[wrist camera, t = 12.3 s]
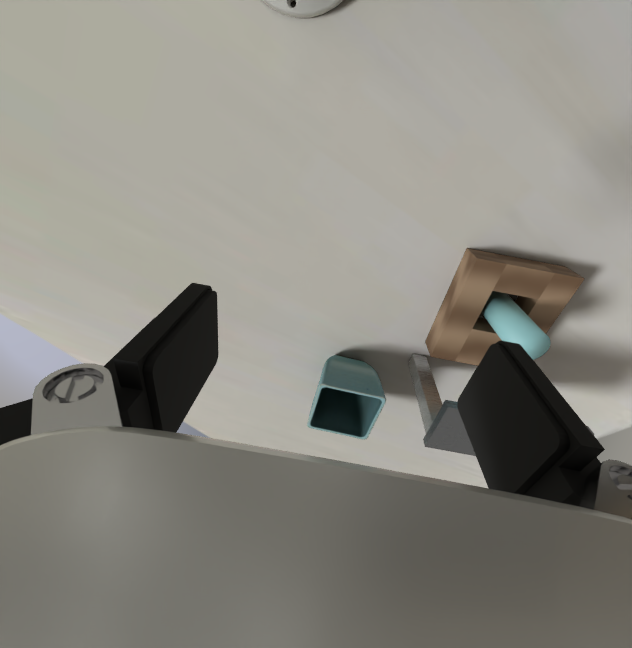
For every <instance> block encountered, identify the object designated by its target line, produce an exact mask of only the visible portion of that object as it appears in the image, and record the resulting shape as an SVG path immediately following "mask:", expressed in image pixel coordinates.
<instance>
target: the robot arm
mask: <svg viewBox="0 0 632 648" xmlns="http://www.w3.org/2000/svg"><path fill="white" fill-rule="evenodd" d="M262 1H263V2H264V3H265V4H267V5H268V6H269V7H270V8H272V9H274V10H276V11H277V12H279V13H281V14H283V15H287V16H291V17H295V18H311V17H314V16H318V15H321V14H324V13H326V12H328V11H329V10H331V9H333V8H335V7H336V6H338V5H339V4H340V3H341V2H342V1H343V0H262ZM292 1H296V6H295V7H293V8H292V7H291V2H292ZM217 359H218V318H217V293H216V291H212V288H211V287H210V286H207V285H202V284H197V283H192V284H190V285H189V286H188V287H187V288H186V289H185V290H184V291H183V292H182V293H181V294H180V295H179V296H178V297H177V298H176V299H175V300H174V301H172V302H171V303H170V304H169V305H168V306H167V307H166V308H165V309H164V310H163V311H162V312H161V313H160V314H159V315H158V316H157V317H156V318H154V319H153V320H152V321H151V322H150V323H149V324H148V325H147V326H146V327H145V328H143V329H142V330H141V331H140V332H139V333H138V334H137V335H136V336H135V337H134V338H133V339H132V340H131V341H130V342H129V343H128V344H127V345H126V346H125V347H124V348H122V349H121V350H120V351H119V352H118V353H117V354H116V355H115V356H114V357H113V358H112V359H111V360H110V361H109V362H108V363H107V364H106V365H105V366H104V367H103V366H101V365H97V364H77V365H72V366H69V367H65V368H62V369H60V370H58V371H55V372H53V373H51V374H50V375H48V376H47V377H45V378H44V379H43V380H41V381H40V383H39V384H38V385H37V386H36V388H35V390H34V393H33V399H29V400H26V401H23V402H19V403H16V404H13V405H9V406H6V407H3V408H0V648H632V466H631V465H629V464H626V463H623V462H621V461H617V460H606V461H604V462H602V463H600V461H599V460H598V459H597V456H598V455H599V454H600V453H601V452H602V451H604V450H605V449H604V448H603V447H602V445H601V444H600V443H599V442H598V440H597V439H596V438H595V437H594V435H593V434H592V433H591V432H590V430H589V429H588V428H587V427H586V425H585V424H584V423H583V422H582V420H581V419H580V418H579V417H578V415H577V414H576V413H575V412H574V411H573V409H572V408H571V407H570V406H569V404H568V403H567V402H566V401H565V399H564V398H563V397H562V396H561V394H560V393H559V392H558V391H557V389H556V388H555V387H554V386H553V384H552V383H551V382H550V381H549V379H548V378H547V377H546V376H545V374H544V373H543V372H542V371H541V369H540V368H539V367H538V366H537V364H536V363H535V362H534V361H533V360H532V358H531V357H530V356H529V355H528V353H527V352H526V351H525V350H524V348H523V347H522V346H521V345H520V344H517V343H512V342H507V341H498V342H497V343H496V344H492V345H491V346H490V347H489V348H488V350H487V352H486V353H485V355H484V357H483V358H482V360H481V362H480V363H479V365H478V367H477V369H476V370H475V372H474V374H473V375H472V377H471V379H470V380H469V382H468V384H467V385H466V387H465V389H464V390H463V392H462V394H461V395H460V397H459V399H458V402H457V408H458V411H459V413H460V416H461V419H462V421H463V424H464V426H465V429H466V431H467V434H468V436H469V439H470V442H471V444H472V447H473V449H474V452H475V454H476V457H477V459H478V462H479V465H480V467H481V470H482V472H483V475H484V477H485V480H486V483H487V485H488V488H489V489H488V488H483V487H477V486H472V485H467V484H461V483H456V482H451V481H446V480H440V479H435V478H430V477H424V476H419V475H413V474H408V473H402V472H397V471H392V470H386V469H381V468H375V467H370V466H364V465H359V464H353V463H348V462H342V461H337V460H331V459H326V458H320V457H315V456H309V455H304V454H298V453H292V452H287V451H281V450H275V449H270V448H264V447H259V446H253V445H247V444H242V443H236V442H230V441H225V440H218V439H212V438H206V437H200V436H193V435H187V434H181V433H176V432H177V430H178V429H179V427H180V425H181V423H182V422H183V420H184V418H185V417H186V415H187V413H188V411H189V410H190V408H191V406H192V404H193V403H194V401H195V399H196V397H197V396H198V394H199V392H200V391H201V389H202V387H203V385H204V384H205V382H206V380H207V378H208V377H209V375H210V373H211V371H212V370H213V368H214V366H215V365H216V362H217Z"/></svg>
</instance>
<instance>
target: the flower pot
mask: <svg viewBox="0 0 632 648" xmlns="http://www.w3.org/2000/svg"><path fill="white" fill-rule="evenodd" d="M385 402H386V398H385V395H384V391H383V388H382V385H381V382H380V379H379V376H378V374H377V373H376V371H375V370H374V369H373V368H372V367H371V366H370V365H368V364H367V363H365V362H363V361H359V360H355V359H350V358H346V357H342V356H337V355H334V356H332V357H330V358H329V359H328V360H327V361H326V363H325V365H324V367H323V371H322V374H321V378H320V381H319V385H318V388H317V391H316V394H315V397H314V400H313V403H312V407H311V411H310V415H309V419H308V423H307V426H308V427H309V428H313V429H317V430H322V431H327V432H332V433H336V434H341V435H346V436H350V437H355V438H359V439H367V438H368V436H369V434H370V432H371V430H372V428H373V426H374V424H375V422H376V420H377V418H378V416H379V414H380V412H381V410H382V408H383V406H384V404H385Z"/></svg>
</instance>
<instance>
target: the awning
mask: <svg viewBox="0 0 632 648" xmlns="http://www.w3.org/2000/svg"><path fill="white" fill-rule="evenodd" d="M409 368H410V372H411V376H412V380H413V384H414V388H415V392H416V396H417V400H418V404H419V408H420V412H421V416H422V420H423V424H424V428H425V432H426V435H425V437H424V439H423V440H424V444H425V447H430V448H435V449H441V450H446V451H451V452H457V453H462V454H468V455H473V456H476V454H475V452H474V449H473V447H472V444H471V442H470V439H469V436H468V434H467V431H466V429H465V426H464V424H463V421H462V419H461V416H460V413H459V411H458V408H457V402H454V401H449V400H445V402H444V403H443V405H442V402H441V399H440V396H439V393H438V390H437V387H436V384H435V381H434V378H433V376H432V373H431V370H430V367H429V364H428V361H427V358H426V356H422V355H417V354H412V357H411V359H410V361H409ZM586 427H587V428H588V429H589V430H590V428H589V427H588V426H586ZM590 432H591V433H592V434H593V435H594V433H593V432H592V431H591V430H590Z"/></svg>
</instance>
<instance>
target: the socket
mask: <svg viewBox="0 0 632 648" xmlns="http://www.w3.org/2000/svg"><path fill="white" fill-rule="evenodd" d="M583 280H584V278H583V277H581V276H580V275H578V274H576V273H575V272H573V271H572V270H570V269H568V268H567V267H564V266H559V265H554V264H548V263H543V262H538V261H533V260H527V259H522V258H517V257H511V256H506V255H501V254H496V253H490V252H485V251H480V250H474V249H469V248H467V249H466V251H465V253H464V256H463V258H462V260H461V262H460V265H459V267H458V269H457V271H456V274H455V276H454V278H453V280H452V283H451V285H450V287H449V289H448V292H447V294H446V296H445V298H444V301H443V303H442V305H441V307H440V310H439V312H438V314H437V316H436V319H435V321H434V323H433V325H432V328H431V330H430V332H429V334H428V337H427V339H426V341H425V342H426V345H427V348H428V351H429V353H430V356H431V357H435V358H440V359H446V360H451V361H456V362H462V363H467V364H472V365H479V363H480V362H481V360H482V358H483V357H484V355H485V353H486V352H487V350H488V348H489V347H490V346H491V345H492V344H496V343H497V342H498V341H502V340H501V339H500V337H499V336H498V335H497V333H496V332H495V331H494V329H493V328H492V326H491V325H490V324H489V322H488V321H487V320H486V319H483V318H478V317H479V315H480V313H481V311H482V310H483V308H484V306H485V304H486V302H487V300H488V298H489V297H490V295H491V293H492V291H497V292H502V293H507V294H513V295H518V297H517V299H516V300H515V303H516V304H517V305H518V306H519V307H520V308H521V309H522V310H523V311H524V312H525V313H526V314H527V315H528V316H529V317H530V318H531V319H532V320H533V322H534V323H535V324H536V325H537V326H538V327H539V328H540V329H541V330H542V331H543V332H544V333H545V334H546V333H547V331H548V330H549V329H550V327H551V326H552V324H553V323H554V322H555V320H556V319H557V317H558V316H559V314H560V313H561V312H562V310H563V309H564V307H565V306H566V304H567V303H568V302H569V300H570V299H571V297H572V296H573V295H574V293H575V292H576V290H577V289H578V287H579V286H580V285H581V283H582V282H583Z"/></svg>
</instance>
